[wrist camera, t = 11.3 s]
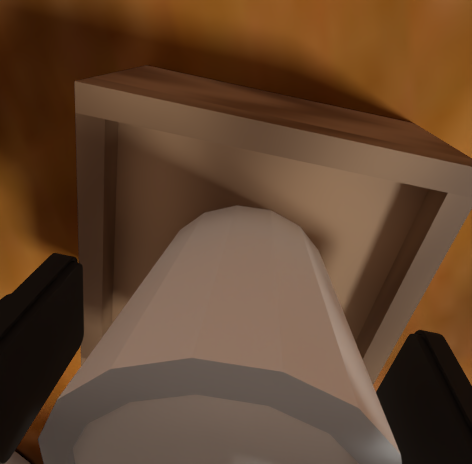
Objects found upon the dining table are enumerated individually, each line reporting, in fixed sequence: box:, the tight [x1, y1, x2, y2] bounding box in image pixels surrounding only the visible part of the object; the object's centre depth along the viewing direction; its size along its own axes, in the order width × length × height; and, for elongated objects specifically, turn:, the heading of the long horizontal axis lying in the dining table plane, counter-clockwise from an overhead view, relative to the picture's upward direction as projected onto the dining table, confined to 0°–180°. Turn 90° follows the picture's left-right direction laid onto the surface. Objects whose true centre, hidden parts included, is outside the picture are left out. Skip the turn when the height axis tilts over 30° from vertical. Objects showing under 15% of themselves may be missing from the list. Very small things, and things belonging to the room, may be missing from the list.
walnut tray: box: [75, 65, 472, 384], centre depth 15 cm, size 11×11×6 cm
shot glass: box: [38, 205, 402, 464], centre depth 10 cm, size 7×7×7 cm
